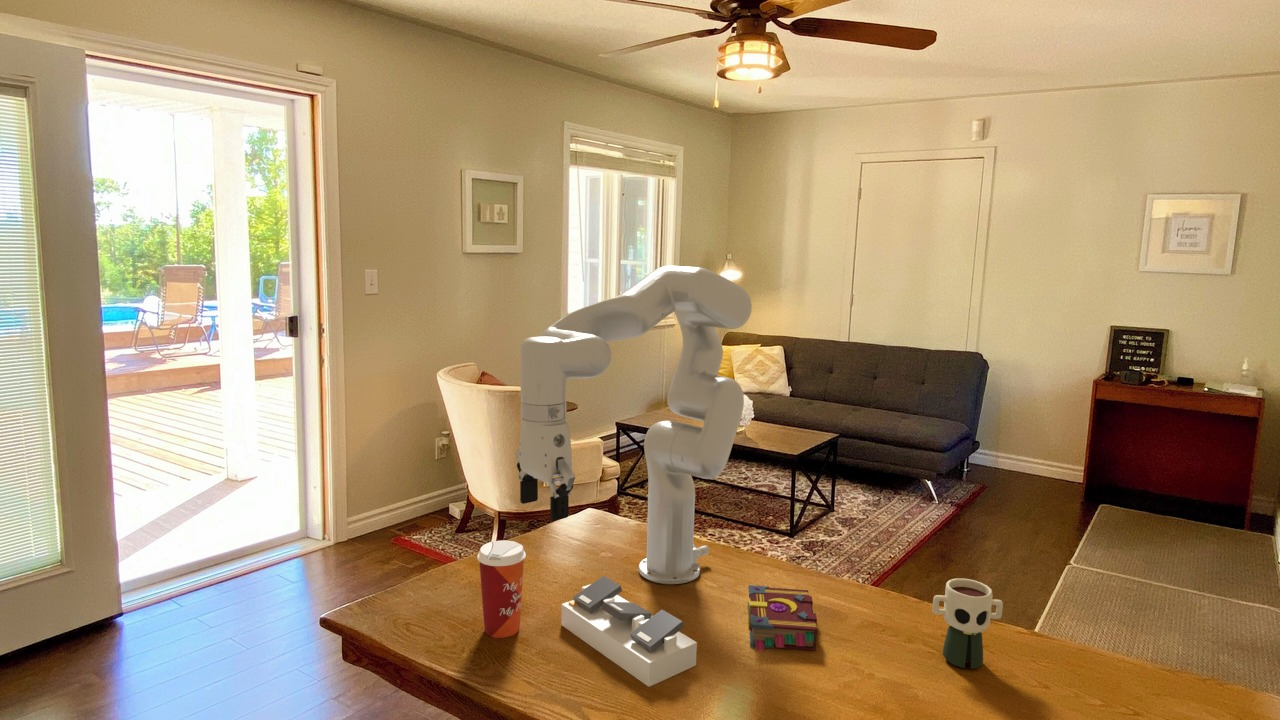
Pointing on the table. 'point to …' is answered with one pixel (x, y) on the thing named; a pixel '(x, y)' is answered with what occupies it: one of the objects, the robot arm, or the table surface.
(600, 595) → the rocker
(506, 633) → the coffee cup
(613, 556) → the table surface
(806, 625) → the decorative book
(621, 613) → the rocker mid
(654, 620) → the rocker
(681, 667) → the strip
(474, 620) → the table surface
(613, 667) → the table surface
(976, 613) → the character mug
